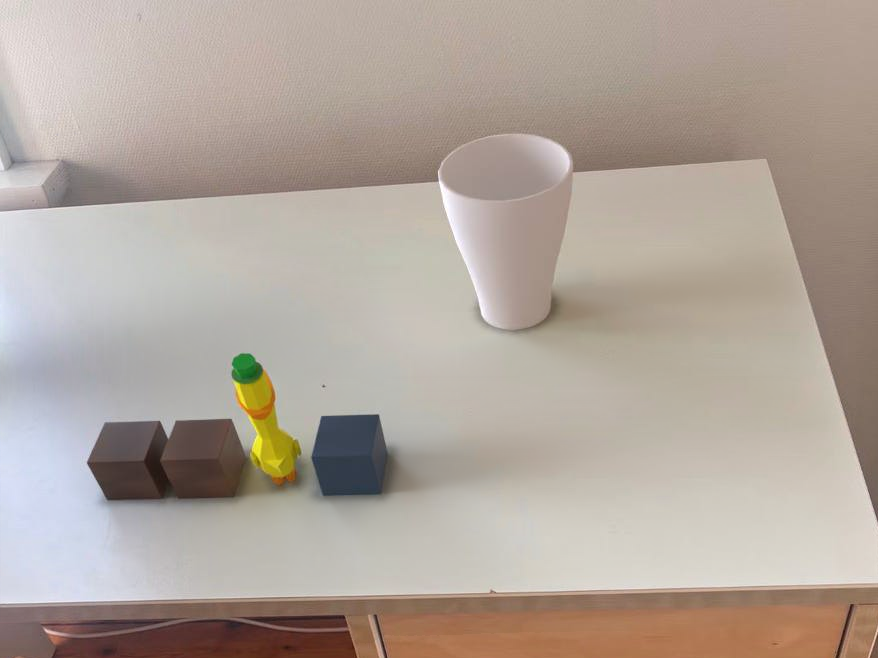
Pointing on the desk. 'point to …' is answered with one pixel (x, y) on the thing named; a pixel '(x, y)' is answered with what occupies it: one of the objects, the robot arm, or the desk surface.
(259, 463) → the toy figure
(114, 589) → the desk surface
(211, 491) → the block
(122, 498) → the block
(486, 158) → the cup
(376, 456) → the block
